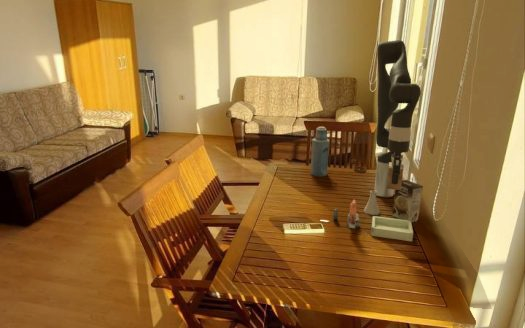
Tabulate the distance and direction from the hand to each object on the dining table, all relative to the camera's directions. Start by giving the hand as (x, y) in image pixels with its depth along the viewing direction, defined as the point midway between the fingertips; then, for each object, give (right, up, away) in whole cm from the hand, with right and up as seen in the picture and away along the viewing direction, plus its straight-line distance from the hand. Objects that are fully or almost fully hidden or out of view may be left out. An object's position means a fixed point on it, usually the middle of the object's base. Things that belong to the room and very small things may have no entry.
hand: (394, 181), depth 140 cm
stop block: (0, -2, +1) cm, 2 cm away
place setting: (+9, 0, +83) cm, 83 cm away
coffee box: (+11, -17, +19) cm, 28 cm away
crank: (-15, -18, +7) cm, 24 cm away
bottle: (-18, -2, +72) cm, 74 cm away
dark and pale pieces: (-18, -18, +13) cm, 29 cm away
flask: (-1, -15, +24) cm, 29 cm away
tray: (+1, -20, +6) cm, 21 cm away
